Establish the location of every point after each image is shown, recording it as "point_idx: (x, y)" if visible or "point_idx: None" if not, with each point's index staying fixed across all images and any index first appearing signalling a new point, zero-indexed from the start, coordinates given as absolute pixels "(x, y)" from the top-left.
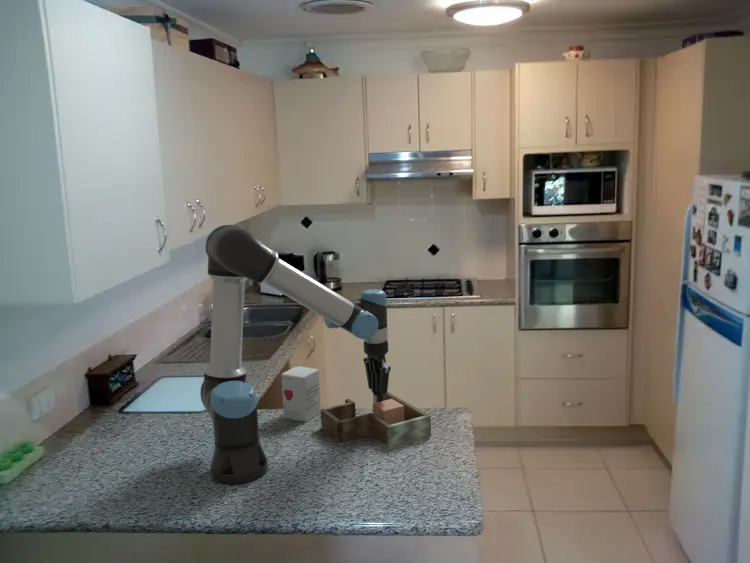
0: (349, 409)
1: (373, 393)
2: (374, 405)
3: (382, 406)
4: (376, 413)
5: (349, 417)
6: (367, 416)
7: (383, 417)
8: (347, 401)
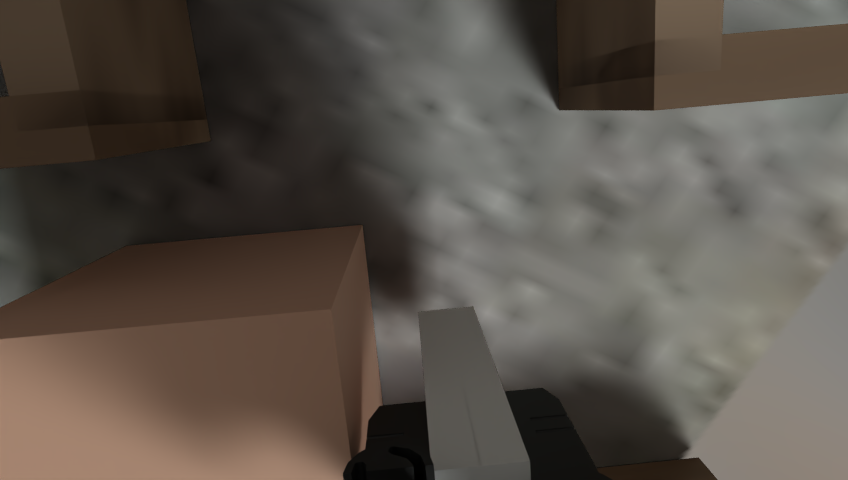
0: (615, 4)
1: (522, 468)
2: (263, 310)
3: (126, 398)
4: (238, 277)
5: (577, 19)
6: (11, 55)
7: (37, 297)
8: (806, 28)
